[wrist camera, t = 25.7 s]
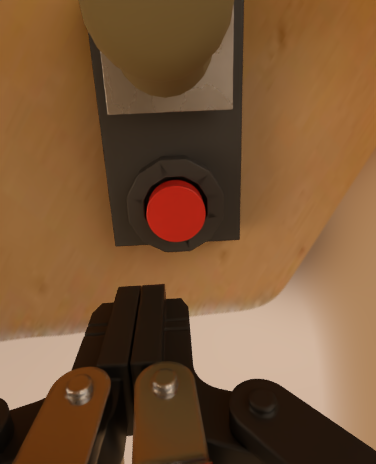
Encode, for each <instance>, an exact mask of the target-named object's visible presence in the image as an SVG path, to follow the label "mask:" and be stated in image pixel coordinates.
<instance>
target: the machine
mask: <svg viewBox="0 0 376 464" xmlns="http://www.w3.org/2000/svg"><path fill="white" fill-rule="evenodd" d="M243 19H244V0H234V34H233V109H232V110H211V111H187V112H164V113H140V114H117V115H108V113H107V104H106V96H105V87H104V79H103V71H102V62H101V54H100V50H99V49H98V48H97V46H96V44H95V43H94V41H93V39H92V37H91V35H90V33H89V32H88V35H89V42H90V50H91V58H92V66H93V74H94V81H95V89H96V97H97V105H98V113H99V121H100V128H101V136H102V144H103V152H104V160H105V167H106V175H107V183H108V191H109V199H110V207H111V214H112V222H113V230H114V238H115V246H133V245H151V246H153V247H156V248H158V249H160V250H162V251H164V252H181V251H191V250H193V249H195V248H196V247H198V246H200V245H201V244H203V243H205V242H208V241H226V240H239V239H240V185H241V129H242V74H243ZM169 180H182V181H186V182H188V183H190V184H191V185H193V186H194V187H195V188H196V189H197V190H198V191H199V193H200V195H201V197H202V200H203V203H204V206H205V212H206V215H205V221H204V224H203V226H202V228H201V230H200V231H199V232H198V233H197V234H196V235H195V236H193V237H192V238H190V239H188V240H185V241H182V242H170V241H166V240H164V239H162V238H160V237H158V236H157V235H156V234H155V233H154V232H153V231H152V230H151V228H150V227H149V224H148V221H147V217H146V211H147V206H148V202H149V198H150V196H151V194H152V192H153V191H154V189H155V188H156V187H157V186H159V185H160V184H162V183H163V182H166V181H169Z"/></svg>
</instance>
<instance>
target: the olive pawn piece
mask: <svg viewBox="0 0 376 464" xmlns="http://www.w3.org/2000/svg"><path fill="white" fill-rule="evenodd" d="M79 4H80V9H81V13H82V17H83V21H84V24H85V26H86V28H87V30H88V32H89V33H90V35H91V37H92V39H93V41H94V43H95V44H96V46H97V48H98V49H99V50H100V51H101V52H102V53H103V54H104V55H105V56H106V57H107V58H108V59H109V60H110V61H111V62H112V63H113V64H114V65H115V66H116V67H117V68H119V69H121V71H122V73H123V75H124V76H125V77H126V78H127V79H128V80H129V81H130V82H131V83H132V84H133V85H134V86H135V87H136V88H137V89H139V90H141V91H143V92H145V93H146V94H148V95H151V96H157V97H163V98H167V97H172V96H178V95H181V94H183V93H185V92H186V91H188V90H190V89H192V88H193V87H194V86H195V85H196V84H197V83H198V82H199V81H200V80H201V79H202V77H203V76H204V75H205V73H206V70H207V68H208V66H209V64H210V62H211V58H212V55H213V54H214V53H215V52H216V51H217V49H218V48H219V47H220V45H221V43H222V40H223V38H224V36H225V34H226V32H227V30H228V28H229V25H230V23H231V17H232V11H233V5H234V0H79Z"/></svg>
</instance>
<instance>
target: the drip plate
mask: <svg viewBox="0 0 376 464" xmlns="http://www.w3.org/2000/svg"><path fill="white" fill-rule="evenodd" d="M233 34H234V5H233V11H232V17H231V23H230V25H229V28H228V30H227V32H226V34H225V36H224V38H223V40H222V43H221V45H220V47H219V48H218V49H217V51H216V52H215V53H214V54H213V55H212V58H211V62H210V64H209V66H208V68H207V70H206V73H205V75H204V76H203V77H202V79H201V80H200V81H199V82H198V83H197V84H196V85H195V86H194V87H193V88H192V89H190V90H188V91H186V92H185V93H183V94H181V95H178V96H172V97H167V98H163V97H157V96H151V95H148V94H146V93H145V92H143V91H141V90H139V89H137V88H136V87H135V86H134V85H133V84H132V83H131V82H130V81H129V80H128V79H127V78H126V77H125V76H124V75H123V73H122V71H121V69H119V68H117V67H116V66H115V65H114V64H113V63H112V62H111V61H110V60H109V59H108V58H107V57H106V56H105V55H104V54H103V53H102V52H101V51H100V54H101V62H102V71H103V79H104V87H105V96H106V104H107V113H108V115H117V114H140V113H164V112H187V111H211V110H232V109H233Z"/></svg>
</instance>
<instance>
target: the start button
mask: <svg viewBox="0 0 376 464" xmlns="http://www.w3.org/2000/svg"><path fill="white" fill-rule="evenodd" d="M205 215H206V212H205V206H204V203H203V200H202V197H201V195H200V193H199V191H198V190H197V189H196V188H195V187H194V186H193V185H191V184H190V183H188V182H186V181H182V180H169V181H166V182H163V183H162V184H160V185H159V186H157V187H156V188H155V189H154V191H153V192H152V194H151V196H150V198H149V202H148V206H147V211H146V217H147V221H148V224H149V227H150V228H151V230H152V231H153V232H154V233H155V234H156V235H157V236H158V237H160V238H162V239H164V240H166V241H170V242H182V241H185V240H188V239H190V238H192V237H193V236H195V235H196V234H197V233H198V232H199V231H200V230H201V228H202V226H203V224H204V221H205Z"/></svg>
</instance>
